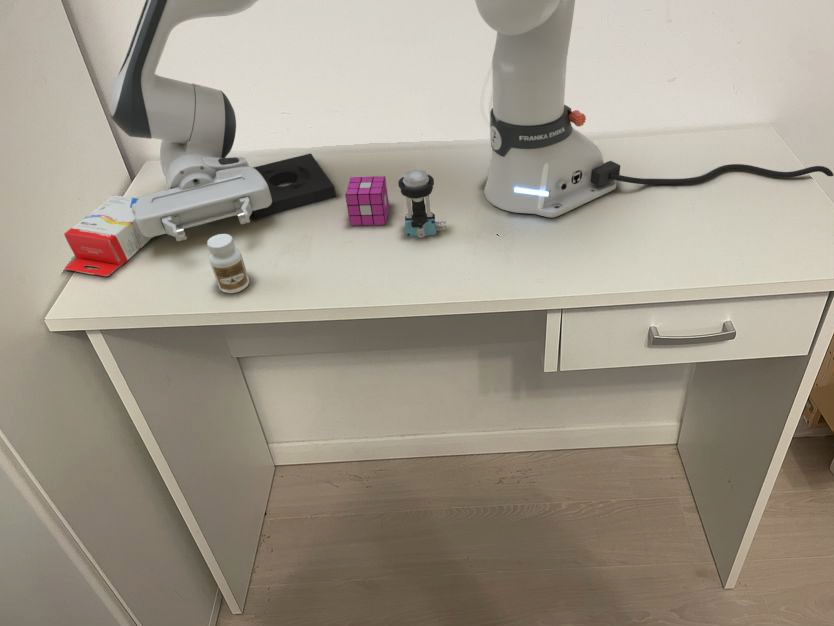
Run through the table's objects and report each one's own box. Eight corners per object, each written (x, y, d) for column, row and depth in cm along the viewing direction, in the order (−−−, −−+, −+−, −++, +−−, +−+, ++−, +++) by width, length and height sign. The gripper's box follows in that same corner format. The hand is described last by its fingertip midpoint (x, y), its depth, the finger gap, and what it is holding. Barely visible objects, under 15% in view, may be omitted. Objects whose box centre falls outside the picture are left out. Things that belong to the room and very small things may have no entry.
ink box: (156, 199, 110) (96, 251, 99) (167, 226, 113) (110, 278, 103) (111, 194, 112) (48, 244, 101) (123, 220, 115) (63, 271, 105)
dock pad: (313, 163, 127) (310, 153, 126) (336, 196, 118) (334, 186, 117) (237, 181, 123) (234, 171, 122) (255, 218, 114) (252, 207, 112)
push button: (446, 222, 110) (441, 165, 104) (447, 240, 106) (442, 182, 100) (404, 224, 110) (397, 168, 104) (404, 243, 106) (397, 185, 100)
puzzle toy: (350, 226, 111) (345, 194, 107) (355, 207, 115) (350, 176, 111) (385, 225, 110) (381, 193, 107) (389, 206, 115) (385, 175, 111)
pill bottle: (223, 297, 98) (207, 252, 93) (216, 281, 101) (200, 237, 96) (253, 288, 99) (239, 243, 94) (245, 272, 102) (231, 228, 97)
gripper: (123, 185, 106) (132, 228, 97) (254, 154, 112) (274, 192, 103) (137, 220, 111) (148, 264, 101) (263, 188, 117) (283, 227, 107)
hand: (212, 227), depth 102 cm, fingers open, 8 cm apart
